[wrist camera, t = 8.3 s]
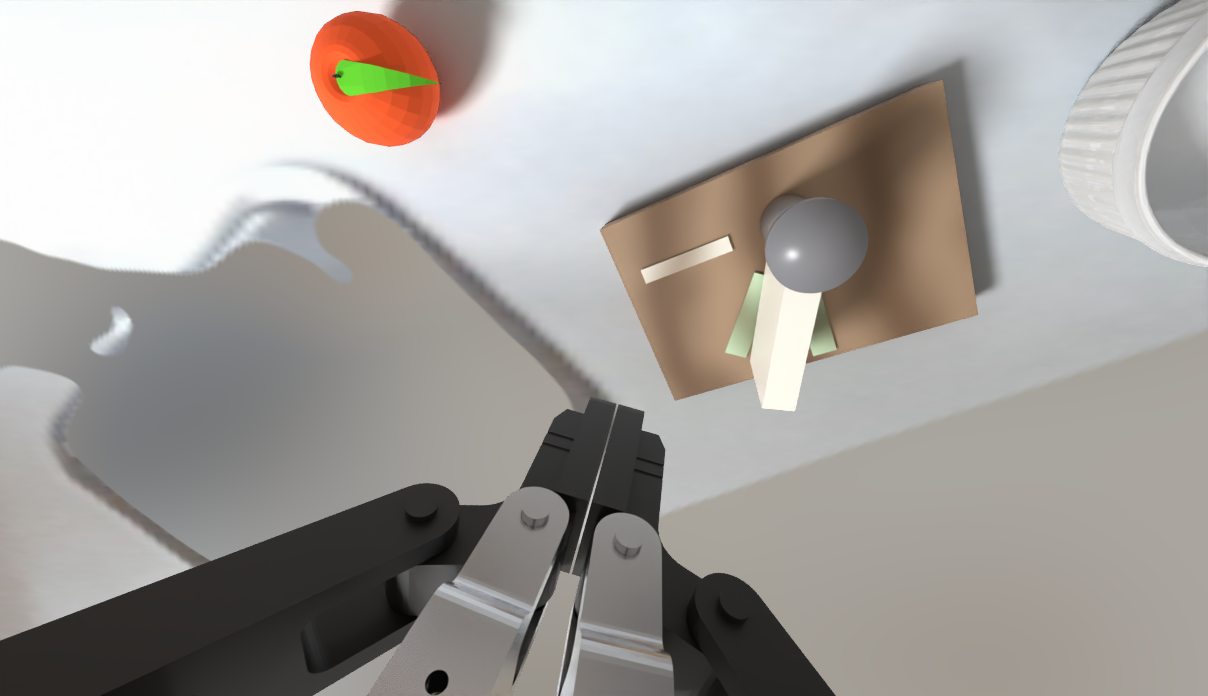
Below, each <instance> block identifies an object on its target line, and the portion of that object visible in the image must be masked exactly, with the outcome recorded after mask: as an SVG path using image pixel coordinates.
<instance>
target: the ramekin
mask: <svg viewBox="0 0 1208 696" xmlns="http://www.w3.org/2000/svg"><path fill="white" fill-rule="evenodd" d="M1059 169H1060V171H1061V180H1062V182H1063V183H1064V187H1065V191H1066V192H1067V194H1069V196H1070V199H1071V201H1072V202H1073V203H1074V204H1075V205H1076V206H1077V208H1078V209H1079V210H1080V211H1081V212H1082V213H1084V214H1086V215H1087V216H1088V217H1089V218H1091V219H1092V220H1094V221H1096V222H1098V223H1099V224H1101V225H1103V226H1104V227H1107V228H1109V229H1111V230H1113V231H1116V232H1119V233H1121V234H1124V235H1126V236H1129V237H1132V238H1134V239H1137V240H1139V241H1142V242H1143V243H1144V244H1146V245H1147V246H1148V247H1150V248H1151V249H1153V250H1155V251H1157V252H1158V253H1160V254H1162V255H1165V256H1167V257H1169V258H1172V259H1175V260H1178V261H1181V262H1184V263H1188V264H1192V265H1197V266H1202V267H1207V268H1208V0H1181V1H1179V2H1178V3H1176V4H1175V5H1174V6H1172V7H1170V8H1167V9H1166V10H1164V11H1162V12H1161V13H1159V14H1158V15H1156V16H1155V17H1154V18H1153V19H1152V20H1151V21H1149V22H1148V23H1146V24H1144V25H1143V26H1141V27H1140V28H1139V29H1138V30H1136V31H1135V32H1134V33H1133V34H1132V35H1131V36H1130V37H1129V38H1128V39H1126V40H1125V41H1123V42H1122V43H1121V44H1120V45H1119V46H1118V47H1117V48H1116V49H1115V50H1114V51H1113V53H1112V54H1110V55H1109V56H1108V57H1107V58H1106V59H1105V60H1104V62H1103V63H1102V64H1101V66H1100V67H1099V68H1098V69H1097V70H1096V72H1095V73H1094V74H1093V75H1092V76H1091V77H1090V79H1089V80H1088V82H1087V83H1086V85H1085V86H1084V88H1083V89H1082V91H1081V92H1080V94H1079V95H1078V98H1077V100H1076V101H1075V103H1074V105H1073V106H1072V108H1071V111H1070V114H1069V116H1068V118H1067V120H1066V122H1065V126H1064V131H1063V134H1062V136H1061V145H1060V150H1059Z"/></svg>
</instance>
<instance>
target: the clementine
mask: <svg viewBox="0 0 1208 696" xmlns="http://www.w3.org/2000/svg"><path fill="white" fill-rule="evenodd" d="M310 71H311V78H312V81H313V85H314V88H315V91H316V93H317V95H318V97H319V99H320V101H321V103H322V104H323V106H324V108H325V110H326V111H327V112H328V113H329V115H330V116H331V117H332V118H333V120H334V121H335V122H336V123H337V124H339V125H340V126H341V127H342V128H344V129H345V130H346V131H347V132H349V133H350V134H352V135H353V136H355V137H357V138H359V139H361V140H363V141H365V142H367V143H372V144H378V145H383V146H388V147H391V146H399V145H404V144H407V143H410V142H412V141H414V140H416V139H418V138H420V137H421V136H422V135H423V134H424V133H425V132H426V131H427V130H428V129H429V128H430V126H431V125H432V123H433V121H434V119H435V117H436V115H437V112H438V108H439V103H440V85H439V84H441V83H439V81H438V76H437V72H436V70H435V67H434V65H433V63H432V61H431V59H430V57H429V55H428V53H427V52H426V50H425V49H424V47H423V46H422V45H421V43H420V42H419V40H418V39H417V38H416V37H415V36H414V35H413V34H411V33H410V32H409V31H408V30H407V29H406V28H405V27H403V26H402V25H400V24H398V23H397V22H395V21H393V20H391V19H389V18H387V17H385V16H383V15H381V14H374V13H368V12H361V11H354V12H349V13H344V14H341V15H339V16H337V17H335V18H334V19H332V20H330V21H329V22H327V23H326V24H324V26H323V27H322V28H321V30H320V31H319V32H318V34H317V35H316V38H315V41H314V44H313V46H312V50H311V57H310Z"/></svg>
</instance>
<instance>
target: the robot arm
mask: <svg viewBox="0 0 1208 696" xmlns="http://www.w3.org/2000/svg"><path fill="white" fill-rule="evenodd" d="M615 407H616V404H615V403H612V402H608V401H605V400H601V399H598V398H594V397H591V398H590V400H589V403H588V405H587V408H586V410H585V413H584V414H583V413H579V412H576V411H572V410H569V409H567V410H565V411H564V412H562V413H561V414H559V415H558V416H557V417H555V418H554V420H553V422H552V424H551V426H550V428H549V430H548V433H547V434H546V436H545V438H544V440H543V443H542V445H541V447H540V449H539V451H538V453H537V455H536V457H535V459H534V461H533V463H532V465H531V467H530V469H529V471H528V473H527V476H526V478H525V480H524V482H523V484H522V486H521V487H520V489H519V490H517V491H515V492H513V493H512V494H510V495H509V496H508V497H507V498H506V499H505V501H503V502H500V503H497V504H492V505H483V506H482V505H481V506H478V505H475V506H474V505H459V501H458V499H457V497H456V495H455V494H454V493H453V492H452V491H451V490H449V489H448V488H446V487H444V486H441V485H437V484H430V483H424V484H417V485H412V486H409V487H406V488H404V489H401V490H398V491H396V492H393V493H391V494H388V495H385V496H382V497H380V498H377V499H374V500H372V501H369V502H366V503H364V504H361V505H358V506H356V507H353V508H351V509H348V510H345V511H343V512H340V513H337V514H335V515H332V516H329V517H327V518H324V519H322V520H319V521H316V522H313V523H311V524H308V525H305V526H303V527H300V528H298V529H295V530H292V531H290V532H287V533H284V534H282V535H279V536H276V537H274V538H271V539H268V540H266V541H264V542H261V543H258V544H255V545H253V546H250V547H247V548H245V549H242V550H239V551H237V552H234V553H232V554H229V555H226V556H224V557H221V558H218V559H215V560H213V561H210V562H207V563H205V564H202V565H200V566H197V567H194V568H192V569H189V570H186V571H184V572H181V573H178V574H176V575H173V576H170V577H168V578H165V579H162V580H160V581H157V582H154V583H152V584H149V585H147V586H144V587H141V588H139V589H136V590H133V591H131V592H128V593H125V594H123V595H120V596H117V597H115V598H112V599H109V600H107V601H104V602H101V603H99V604H96V605H94V606H91V607H88V608H86V609H83V610H80V611H78V612H75V613H72V614H70V615H67V616H64V617H62V618H59V619H56V620H54V621H51V622H49V623H46V624H43V625H41V626H38V627H35V628H33V629H30V630H27V631H25V632H22V633H19V634H17V635H14V636H11V637H9V638H6V639H3V640H1V641H0V696H313V695H314V694H316V693H318V692H319V691H321V690H323V689H324V688H326V687H328V686H329V685H331V684H333V683H334V682H336V681H338V680H340V679H341V678H343V677H345V676H346V675H348V674H350V673H351V672H353V671H355V670H356V669H358V668H359V667H361V666H363V665H364V664H366V663H368V662H370V661H372V660H373V659H375V658H376V657H378V656H380V655H382V654H383V653H385V652H387V651H388V650H390V649H392V648H393V647H395V646H397V645H398V644H400V643H401V644H400V646H399V647H398V649H397V650H396V652H395V653H394V655H393V656H392V658H391V660H390V661H389V663H388V664H387V666H386V667H385V669H384V670H383V672H382V673H381V675H380V676H379V678H378V679H377V681H376V682H375V684H374V686H373V687H372V689H371V690H370V692H369V693H368V695H367V696H512V695H513V692H514V689H515V687H516V684H517V681H518V679H519V677H520V674H521V671H522V669H523V666H524V664H525V661H526V659H527V656H528V654H529V651H530V649H531V646H532V643H533V641H534V638H535V636H536V633H537V631H538V628H539V626H540V623H541V621H542V618H543V616H544V613H545V610H546V608H547V605H548V602H549V599H550V598H551V596H552V595H553V592H554V590H555V587H556V584H557V580H558V577H559V574H560V571H563V572H567V573H569V572H570V568H571V565H572V561H573V558H574V554H575V551H576V547H577V544H578V540H579V537H580V533H581V530H582V526H583V522H584V519H585V515H586V512H587V508H588V505H589V501H590V498H591V494H592V491H593V487H594V484H595V480H596V476H597V473H598V469H599V466H600V462H601V459H602V455H603V451H604V448H605V444H606V440H607V437H608V433H609V429H610V426H611V422H612V418H613V415H614V411H615ZM643 418H644V411H640V410H637V409H633V408H630V407H626V406H623V405H618V409H617V413H616V416H615V420H614V424H613V427H612V431H611V434H610V438H609V442H608V445H607V449H606V453H605V456H604V460H603V463H602V467H601V471H600V474H599V478H598V482H597V485H596V489H595V493H594V496H593V500H592V503H591V507H590V511H589V514H588V518H587V522H586V525H585V529H584V532H583V536H582V540H581V543H580V547H579V551H578V554H577V558H576V562H575V565H574V569H573V572H572V574H574V575H577V576H580V581H579V585H578V589H577V593H576V597H575V600H574V603H573V607H572V610H571V615H570V620H569V626H568V632H567V637H566V643H565V648H564V655H563V660H562V665H561V671H560V677H559V682H558V688H557V694H556V696H835V694H834V693H833V692H832V690H831V689H830V688H829V686H828V685H827V684H826V683H825V681H824V680H823V679H822V677H821V676H820V675H819V673H818V672H817V671H816V670H815V668H814V667H813V666H812V664H811V663H810V662H809V660H808V659H807V658H806V657H805V656H804V654H803V653H802V651H801V650H800V649H799V647H798V646H797V645H796V644H795V642H794V641H793V640H792V638H791V637H790V636H789V635H788V633H787V632H786V631H785V629H784V628H783V627H782V625H781V624H780V623H779V621H778V620H777V619H776V617H775V616H774V615H773V614H772V612H771V611H770V610H769V608H768V607H767V606H766V604H765V603H764V602H763V601H762V599H761V598H760V597H759V595H758V594H757V593H756V592H755V591H754V590H753V589H752V588H751V587H750V586H749V585H748V584H746V583H745V582H744V581H742V580H740V579H739V578H737V577H734V576H732V575H729V574H725V573H713V574H710V575H707V576H706V577H704V578H703V579H701V578H700V577H698V576H697V575H695V574H693V573H692V572H690V571H689V570H687V569H685V568H684V567H683V566H681V565H680V564H678V563H677V562H676V561H675V560H674V559H672V557H671V556H670V555H669V554H668V553H667V551H666V550H665V548H664V547H663V545H662V543H661V540H660V537H659V532H658V523H659V512H660V501H661V491H662V478H663V469H664V468H663V466H664V458H665V448H664V446H663V444H662V442H661V439H660V437H659V435H656V434H653V433H649V432H646V431H642V430H641V429H642V423H643Z"/></svg>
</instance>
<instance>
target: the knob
mask: <svg viewBox="0 0 1208 696" xmlns="http://www.w3.org/2000/svg"><path fill="white" fill-rule="evenodd" d="M760 231H761V234H762V236H763V238H764V239H765V258H766V266H765V272H764V278H763V284H762V290H761V296H760V302H759V308H758V315H757V321H756V327H755V333H754V339H753V345H752V351H751V357H750V364H751V367H752V371H753V375H754V379H755V383H756V386H757V390H758V394H759V398H760V402H761V406H762V408H766V409H776V410H787V411H795V408H796V404H797V399H798V395H799V390H800V386H801V382H802V377H803V373H804V368H805V364H806V359H807V355H808V350H809V346H810V342H811V337H812V333H813V328H814V324H815V319H816V315H817V311H818V306H819V302H820V297H821V293H822V292H825V291H828V290H831V289H833V288H835V287H837V286H839V285H841V284H842V283H844V282H845V281H847V280H848V279H849V278H850V277H851V276H852V275H853V274H854V273H855V272H856V271H857V270H858V268H859V267H860V265H861V264H862V262H863V260H864V258H865V255H866V252H867V249H868V240H869V237H868V230H867V226H866V224H865V222H864V220H863V218H862V217H861V215H860V214H859V213H858V212H857V211H856V210H855V209H854V208H852V207H851V206H849V205H847V204H845V203H843V202H841V201H838V200H836V199H832V198H826V197H815V198H809V199H806V198H804V197H802V196H799V195H794V194H788V195H783V196H780V197H778V198H776V199H774V200H773V201H772V202H770V203H769V204H768V205H767V207H766V208H765V209H764V211H763V213H762V215H761V218H760Z"/></svg>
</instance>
